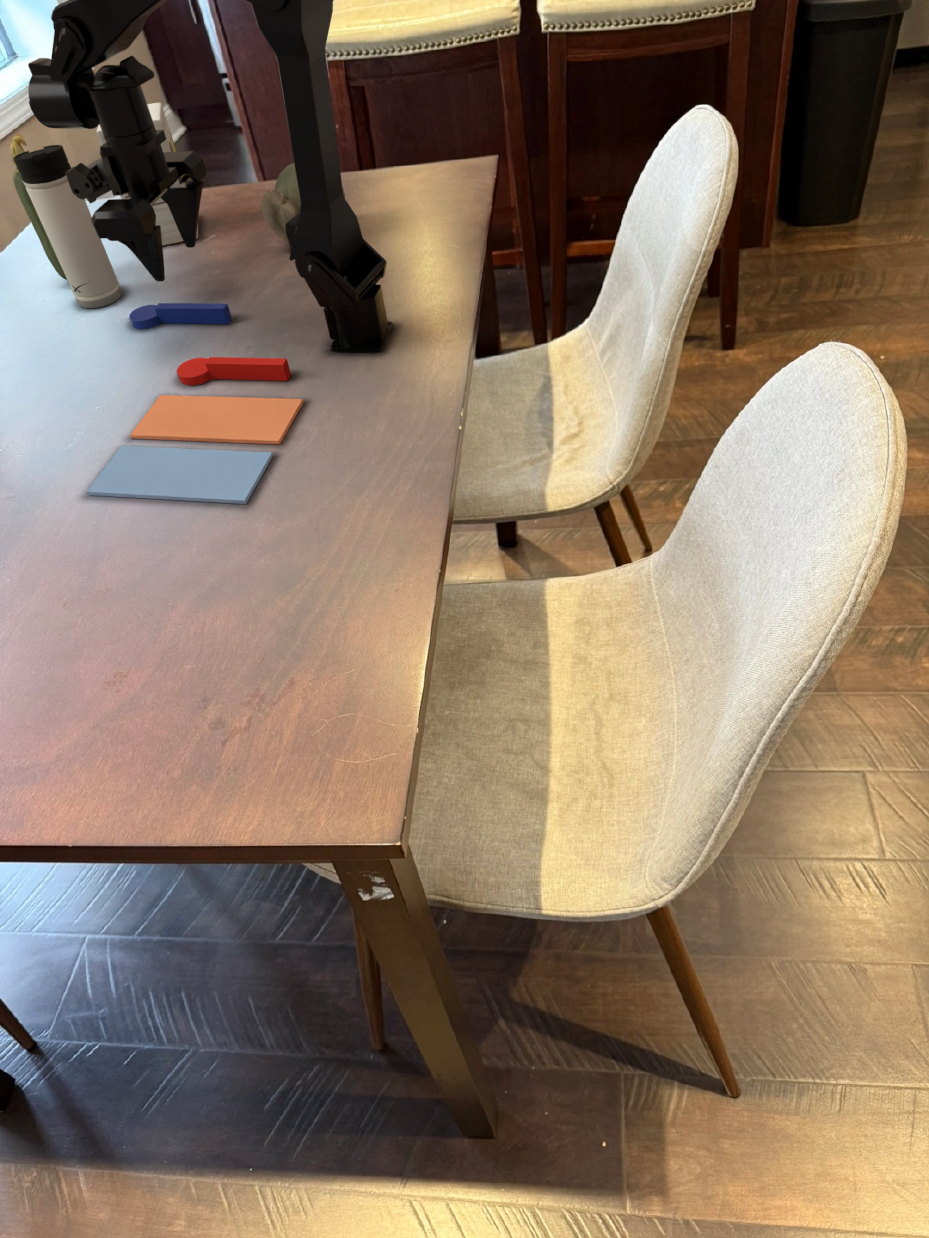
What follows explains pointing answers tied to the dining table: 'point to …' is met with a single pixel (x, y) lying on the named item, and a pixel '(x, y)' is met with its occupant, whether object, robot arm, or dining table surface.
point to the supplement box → (160, 207)
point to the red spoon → (233, 369)
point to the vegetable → (32, 207)
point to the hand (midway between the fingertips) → (176, 263)
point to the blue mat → (182, 474)
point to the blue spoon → (180, 314)
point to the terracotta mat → (218, 419)
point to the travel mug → (68, 226)
